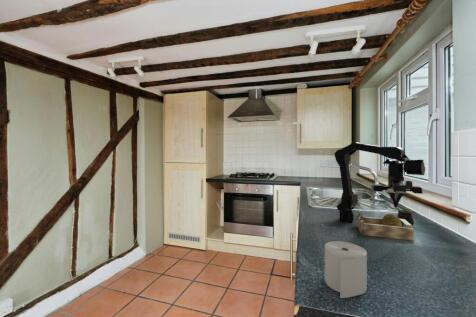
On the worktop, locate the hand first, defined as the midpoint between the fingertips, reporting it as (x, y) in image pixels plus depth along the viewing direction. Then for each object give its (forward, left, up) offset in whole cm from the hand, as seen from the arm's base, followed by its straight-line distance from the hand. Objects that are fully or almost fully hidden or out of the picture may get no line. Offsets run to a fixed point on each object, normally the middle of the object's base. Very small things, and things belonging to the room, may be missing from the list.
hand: (395, 207), depth 102 cm
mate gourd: (+7, +12, -12) cm, 19 cm away
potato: (-1, -2, -12) cm, 12 cm away
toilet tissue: (-25, -55, -12) cm, 62 cm away
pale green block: (+3, -2, -12) cm, 13 cm away
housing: (-5, -2, -12) cm, 13 cm away
